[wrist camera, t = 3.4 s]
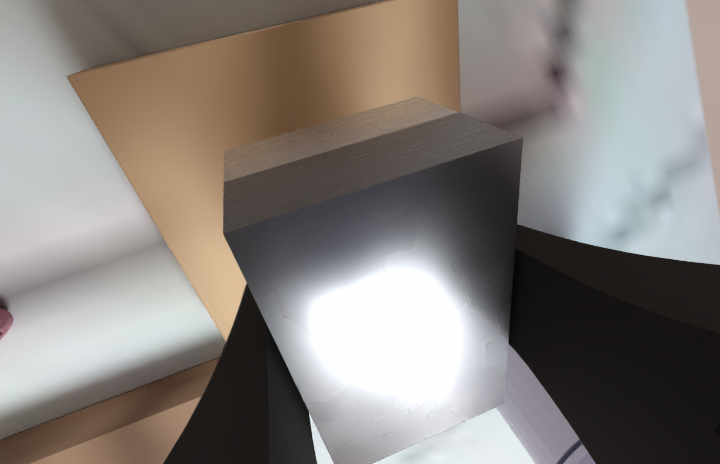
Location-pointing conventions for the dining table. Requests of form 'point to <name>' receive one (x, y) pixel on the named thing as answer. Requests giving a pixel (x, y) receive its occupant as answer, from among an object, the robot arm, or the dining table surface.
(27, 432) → the walnut stand
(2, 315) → the video game controller
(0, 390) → the dining table surface
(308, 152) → the grey rectangular block
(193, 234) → the oak stand
